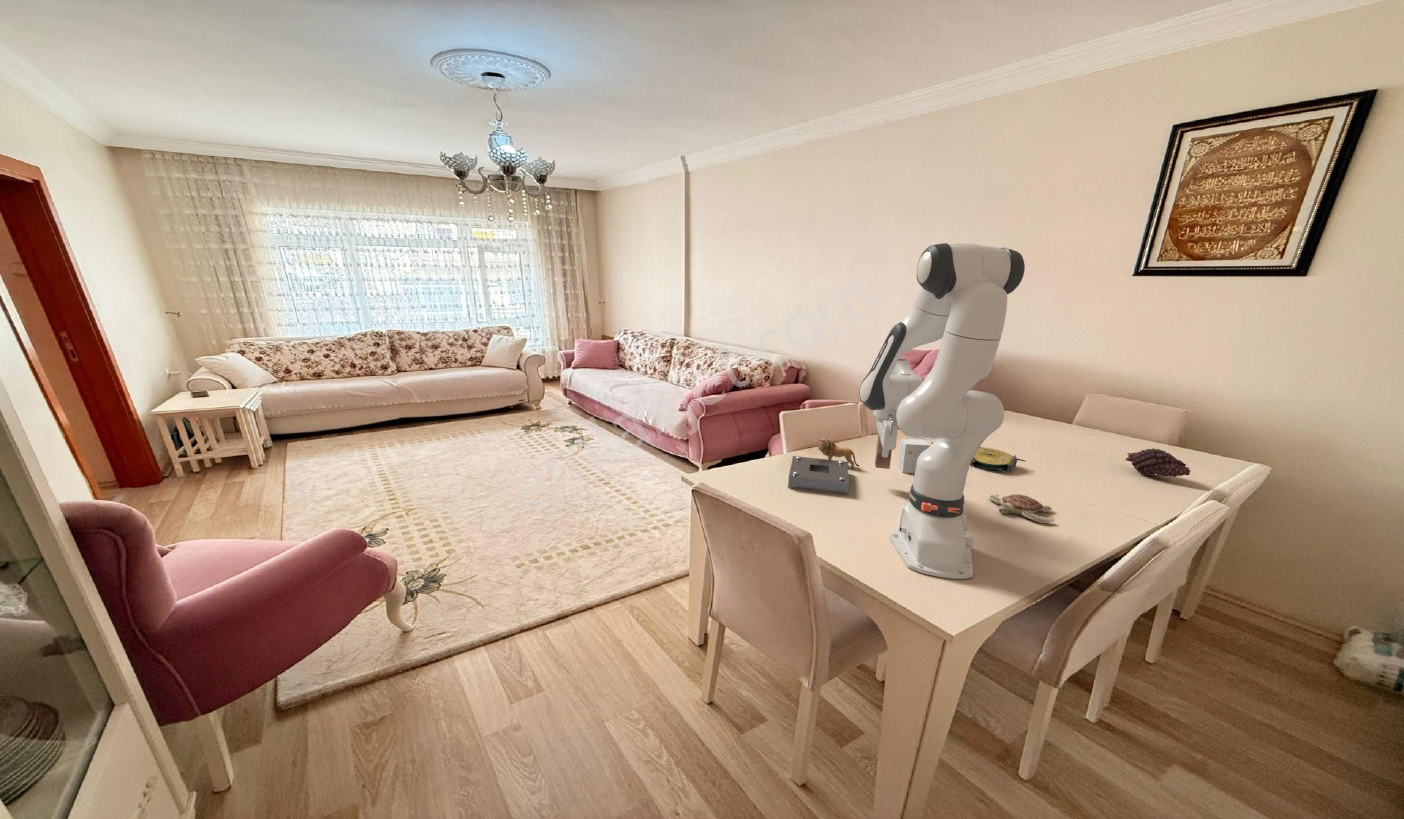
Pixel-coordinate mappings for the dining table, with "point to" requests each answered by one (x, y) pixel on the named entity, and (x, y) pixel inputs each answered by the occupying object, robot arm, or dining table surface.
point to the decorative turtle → (1021, 506)
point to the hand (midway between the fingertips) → (883, 453)
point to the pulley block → (993, 460)
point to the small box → (910, 454)
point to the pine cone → (1157, 463)
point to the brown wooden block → (882, 461)
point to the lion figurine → (836, 451)
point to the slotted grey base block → (819, 475)
